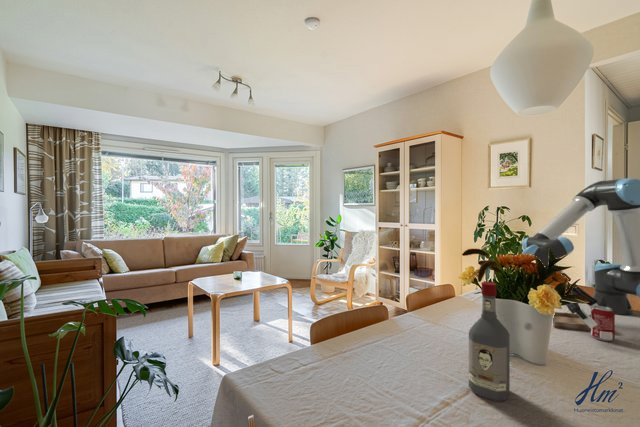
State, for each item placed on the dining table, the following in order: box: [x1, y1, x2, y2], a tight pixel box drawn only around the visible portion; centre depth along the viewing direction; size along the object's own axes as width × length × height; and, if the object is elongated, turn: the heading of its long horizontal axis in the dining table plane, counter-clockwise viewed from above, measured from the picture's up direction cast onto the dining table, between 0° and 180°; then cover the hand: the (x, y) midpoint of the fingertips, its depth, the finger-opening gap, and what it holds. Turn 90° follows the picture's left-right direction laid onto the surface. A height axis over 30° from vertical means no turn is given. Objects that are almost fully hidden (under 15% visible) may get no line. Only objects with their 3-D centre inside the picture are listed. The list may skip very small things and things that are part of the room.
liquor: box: [468, 281, 511, 402], centre depth 84 cm, size 9×9×30 cm
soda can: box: [590, 306, 616, 342], centre depth 118 cm, size 7×7×12 cm
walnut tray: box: [552, 311, 591, 332], centre depth 133 cm, size 20×15×2 cm
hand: (601, 323), depth 117 cm, fingers open, 13 cm apart
